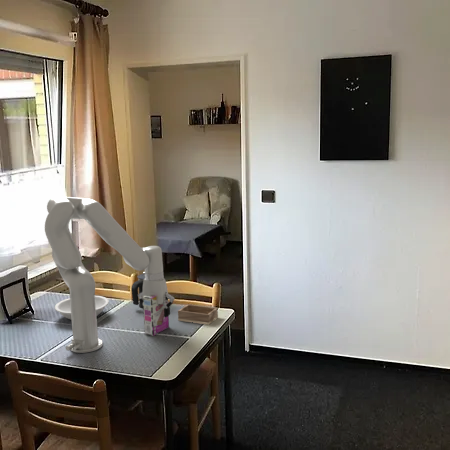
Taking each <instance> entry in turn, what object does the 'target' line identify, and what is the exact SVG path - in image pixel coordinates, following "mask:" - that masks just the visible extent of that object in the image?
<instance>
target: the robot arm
mask: <svg viewBox="0 0 450 450" xmlns="http://www.w3.org/2000/svg"><path fill="white" fill-rule="evenodd" d="M46 204H47V205H46V211H47V212H48V214H47V216H46V219H45V222H44V232H45V233H44V234H45V236H46V239H47V241H48V243H49V246H50V248H51V257H52V259H53V262H54V264H55V266H56V267H57V270H58V272H59V274H60V276H61V278H62V279H63V281H64V282H63V283H65V284H66V286H67V287H68V289H69V298H70V310H71V319H70V320H71V328H72V329H71V331H72V339H71V343H69V344H67V345H66V346H65V350H66V351H68V352H69V351H71V352H72V353H77V354H84V353H85V354H86V353H90V352H91V353H93V352H94V351H97V350H100V349H101V348H102V347H103V345H104V342H103V340H102V339H100V338H99V332H98V331H99V330H98V321H97V316H96V307H95V296H96V294H95V293H96V281H95V278H94V276H93V275H92V273H91V271H89V270H88V269H86V267H85V266H84V263H83V262H82V254H81V251H80V249H79V248H78V246H77V244H76V242H75V240H74V238H73V235H72V233H71V231H70V227H69V225H70V222H71V219H73V220H75V219H76V220H84V221H85V222H86V223H87V224H88V225H89V226H90V227H91V228H92V229H93V230H94V231H95V232H96V234H98V235H99V236H100V238H101V239H102V240H103V241H105V243H106V244H107V245H109V246H110V247H111V248H113V250H114V249H115V250H116V252H118V254H119V255H121V256H122V258H123V259H122V260H123V261H124V262H125V264H126V265H128V266H129V267H131V268H132V269H133V270H134V271H135V270H136V271H137V272H139V271H141V272H142V271H143V273H142V274H143V275H145V279H144V281H143V292H142V293H140V294H139V293H138V298H139V299H140V301H141V302H142V305H143V297H144V296H146V295H151V296H156V299H157V304H163V306H164V307H165V308H164V317H168V316H170V314H171V308H170V307H171V306H172V305H173V304H174V301H175V297H174V296H173V295H171V294H170V293H169V292H168V291H169V290H168V286H167V285H168V284H167V282H166V278H164V264H163V263H164V262H163V252H162V247H160V246H159V245H149V246H146V247H141V246H140V245H139V244H138V243H137V242H136V241H135V240H134V239H133V237H131V236H130V235H129V233H128V232H127V231H126V230H125V229H124V228H123V227H122V226H121V224H119V223H118V221H117V220H116V219H115V218H114V217H113V216H112V215H111V214H110V212H109V211H108V210H107V209H106V208H105V207H104V206H103V205H102V204H101V202H99V201H97V200H94V199H92V198H87V197H86V198H84V197H71V196H63V195H61V196H60V195H57V196H53V197H52V198H50V199H49V200H48V201H47V203H46Z"/></svg>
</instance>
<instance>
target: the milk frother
mask: <svg viewBox="0 0 450 450" xmlns="http://www.w3.org/2000/svg"><path fill="white" fill-rule="evenodd" d="M137 278H138V280H136V281H134V282H133V283H132V285H131V297H132V304H133V305H135V306H139V307H140V308H142V309H143V305H142V302H141V301H140V299H139V297H138V294H140V293H142V292H143V281H144V279H145V275H143V273H142V274H141V273H140V274H139V275H137Z"/></svg>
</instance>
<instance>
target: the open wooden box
mask: <svg viewBox="0 0 450 450" xmlns="http://www.w3.org/2000/svg"><path fill="white" fill-rule="evenodd" d="M218 309H219V308H218V307H213V306H212V307H211V306H205V305H204V306H203V305H197V304H196V305H195V304H186V305H184V306H183V307H181V308H180V309H178V310H177V321H179V322H180V321H181V322H186V323H192V322H193V323H194V324H201V325H207V326H208V325H211V324H212V323H214V321H216V320H217V319H218V318H219V312H218V311H219V310H218Z"/></svg>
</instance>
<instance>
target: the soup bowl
mask: <svg viewBox="0 0 450 450" xmlns="http://www.w3.org/2000/svg"><path fill="white" fill-rule="evenodd" d="M109 303H110V300H109V298H107V297H105V296H102V295H95V307H96V317H97V316H99V315H100V314H101V313H102V312H104V309H105V308H106V307H107V306H108V305H109ZM54 310H55V311H56V312H57V313H59V314H60V315H62V317H64V318H66V319H68V320H71V310H70V297H68V298H67V299H62V300H61V301H58V302H57V303H56V304H55V306H54Z"/></svg>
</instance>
